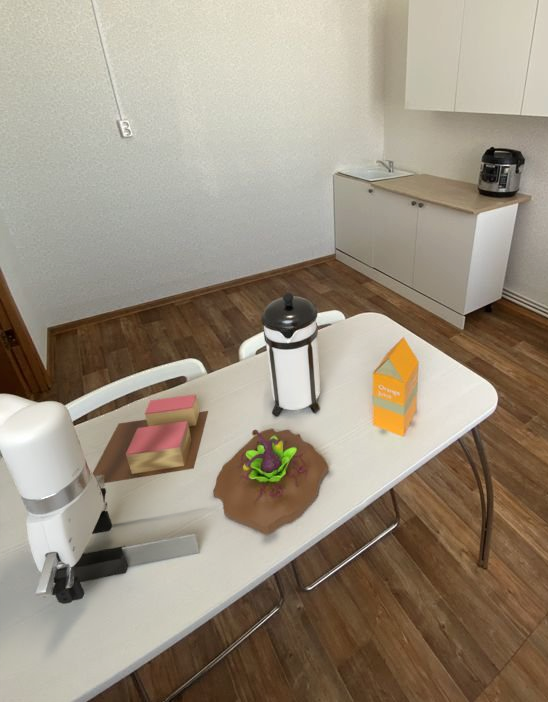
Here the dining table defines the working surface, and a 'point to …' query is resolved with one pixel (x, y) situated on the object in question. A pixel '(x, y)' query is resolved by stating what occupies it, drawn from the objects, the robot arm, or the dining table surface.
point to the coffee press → (292, 353)
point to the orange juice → (395, 389)
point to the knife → (131, 557)
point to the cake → (150, 449)
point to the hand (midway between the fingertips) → (88, 562)
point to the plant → (270, 480)
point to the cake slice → (173, 410)
